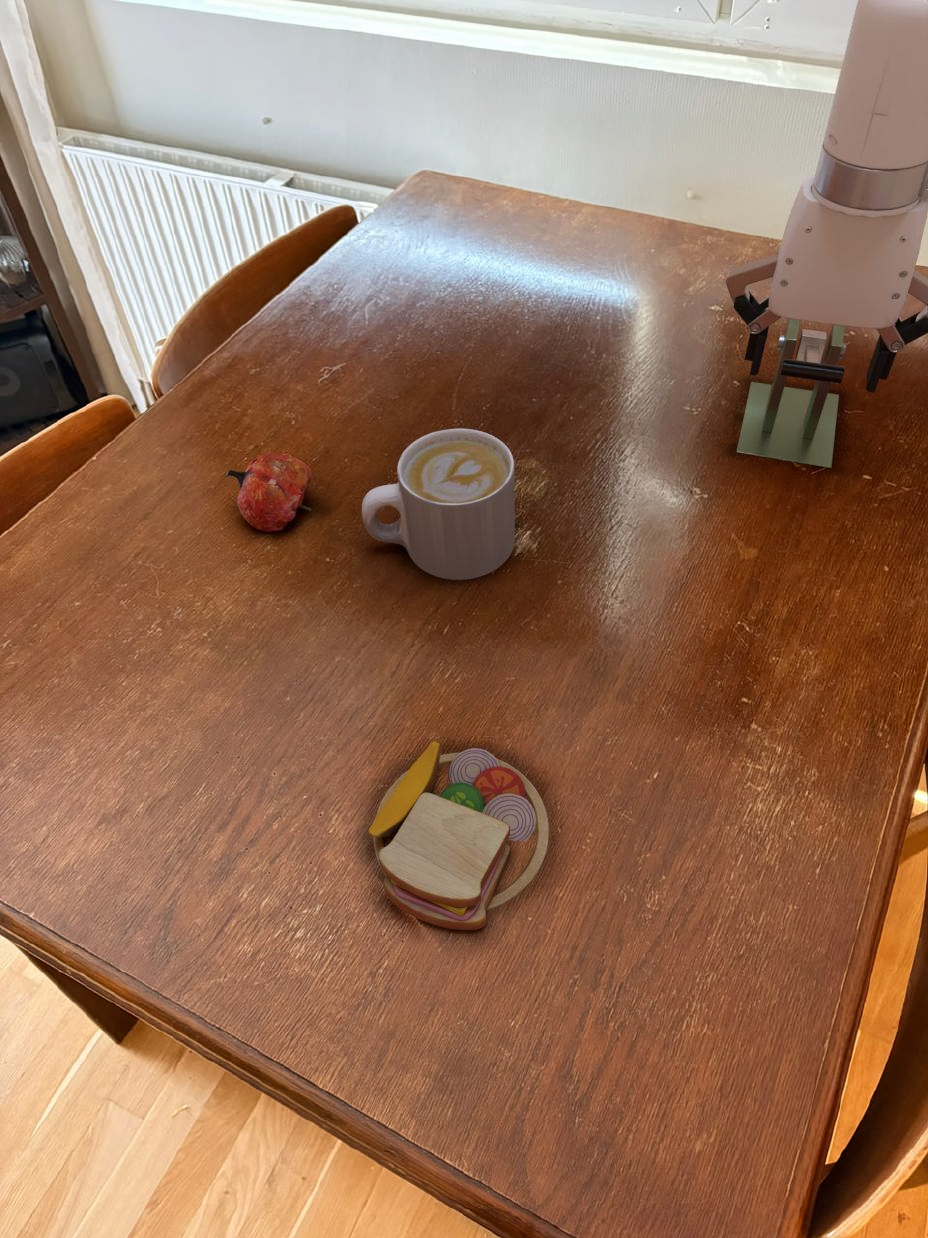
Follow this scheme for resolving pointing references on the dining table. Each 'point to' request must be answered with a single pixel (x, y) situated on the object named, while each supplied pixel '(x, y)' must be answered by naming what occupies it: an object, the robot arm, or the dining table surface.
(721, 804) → the dining table surface
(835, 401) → the bracket
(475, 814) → the toy sandwich meal
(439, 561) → the coffee mug
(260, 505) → the pomegranate
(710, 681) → the dining table surface
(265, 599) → the dining table surface
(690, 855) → the dining table surface
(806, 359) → the lever
